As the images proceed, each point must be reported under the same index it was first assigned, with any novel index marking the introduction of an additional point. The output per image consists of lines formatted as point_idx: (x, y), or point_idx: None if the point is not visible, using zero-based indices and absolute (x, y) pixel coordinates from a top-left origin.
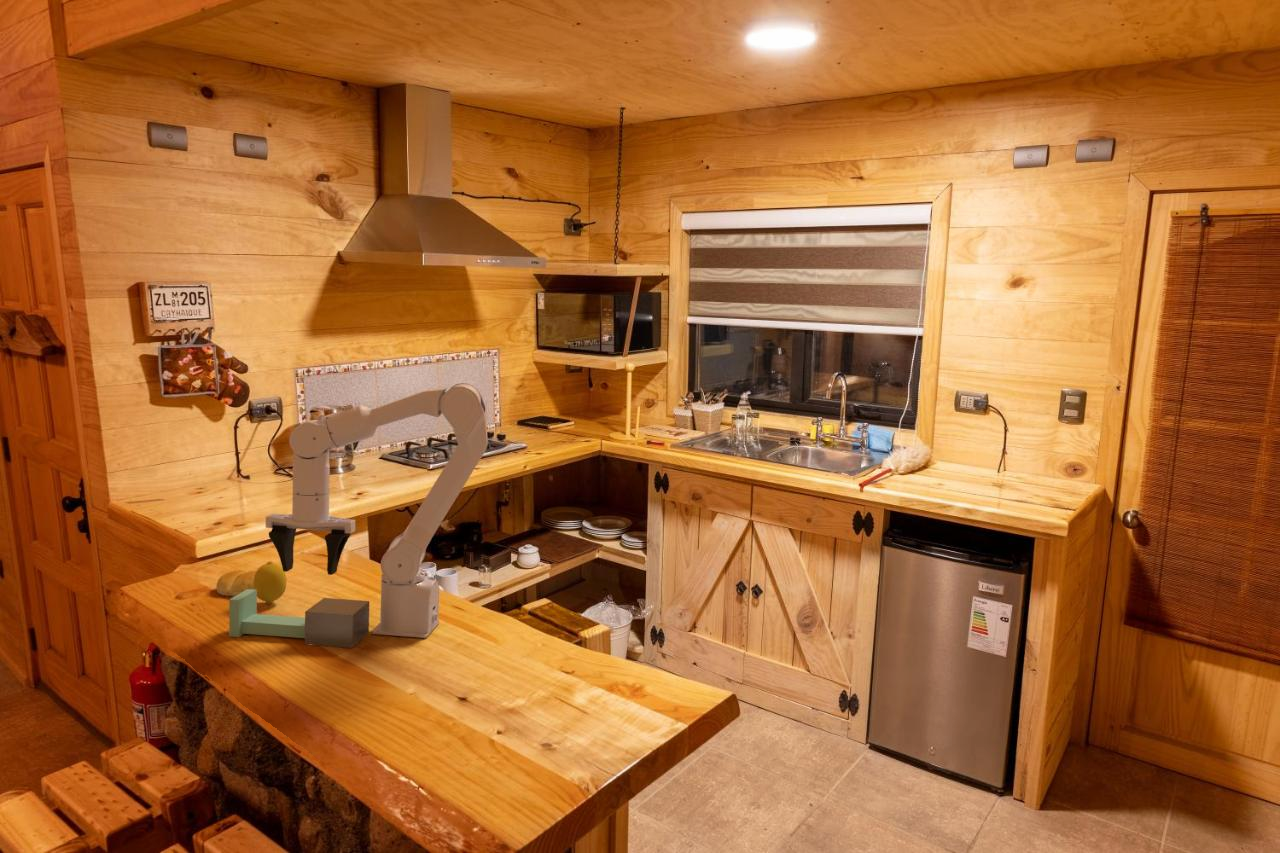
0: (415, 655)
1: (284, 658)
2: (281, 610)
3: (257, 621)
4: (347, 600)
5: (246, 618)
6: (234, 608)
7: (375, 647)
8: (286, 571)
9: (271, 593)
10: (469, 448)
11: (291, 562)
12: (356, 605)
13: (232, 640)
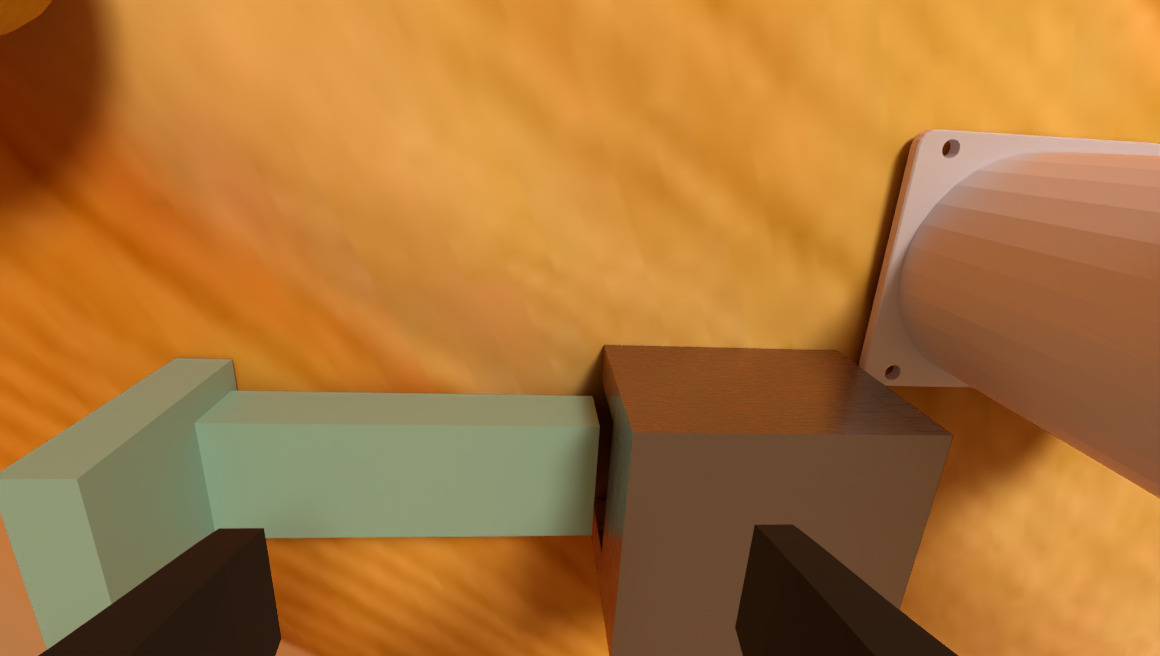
0: (1051, 540)
1: (568, 646)
2: (203, 72)
3: (297, 522)
4: (807, 453)
5: (207, 496)
6: None
7: None
8: (277, 643)
9: (13, 23)
10: None
11: (227, 618)
12: (881, 522)
13: None
